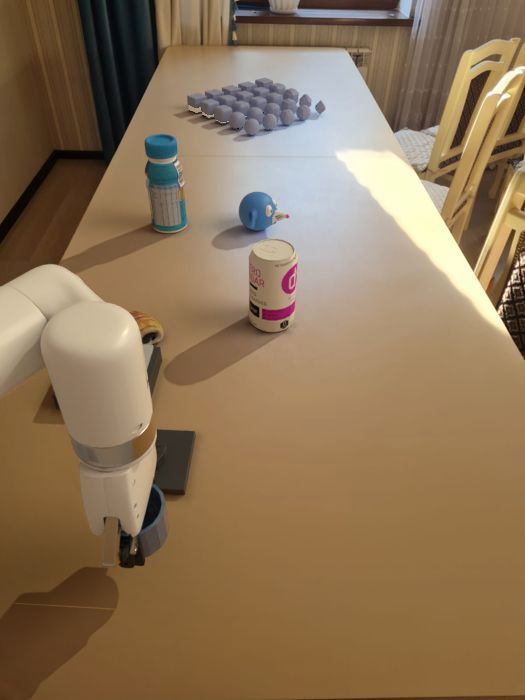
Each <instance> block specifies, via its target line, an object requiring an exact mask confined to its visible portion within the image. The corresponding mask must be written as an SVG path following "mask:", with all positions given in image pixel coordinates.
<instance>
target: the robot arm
mask: <svg viewBox="0 0 525 700" xmlns="http://www.w3.org/2000/svg"><path fill="white" fill-rule="evenodd" d="M129 312H130V311H128V310H127V309H125V308H123V307H122V306H120V305H118V304H115V303H111V302H106V301H105V300H103V299H102V297H100V296H99V295H97V294H96V293H95V292H94V291H93V290H92V289H91V288H90V287H89V286H88V285H87V284H86V283H85V282H84V281H83V279H81V278H80V277H79V275H77V274H76V273H74V272H72V271H70V270H69V269H68V268H65V267H64V266H61V265H58V264H54V263H47V264H42V265H39V266H36V267H34V268H32V269H30V270H28V271H26V272H24V273H22V274H21V275H19V276H17V277H15V278H14V279H11V280H10V281H8V282H7V283H5V284H3V285H1V286H0V400H1V399H3V398H4V397H5V396H7V395H9V394H11V393H12V392H13V391H14V390H16V389H18V387H21V385H23V384H24V383H26V382H27V381H29V380H31V378H32V377H34V376H36V375H37V374H38V373H39V372H41V371H43V370H44V369H45V368H46V371H47V373H48V378H49V380H50V383H51V386H52V390H53V392H55V395H56V398H57V401H58V404H59V407H60V409H59V410H60V414H61V417H62V419H63V422H64V424H65V428H66V431H67V434H68V436H69V440H70V443H71V446H72V449H73V452H74V454H75V456H76V459H78V461H79V468H78V472H79V474H78V475H79V476H78V477H79V486H80V494H81V499H82V505H83V509H84V513H85V517H86V520H87V523H88V527H89V530H90V532H91V533H92V535H93V536H96V537H102V536H103V546H102V558H101V566H102V567H103V568H104V567H105V568H106V567H107V568H117V567H118V566H119V567H120V568H123V569H133V568H135V567H144V566H145V564H146V558H145V557H144V552H143V548H142V544H141V543H140V542H138V541H137V534H138V533H139V532H140V530H141V527H142V523H143V520H144V516H145V512H146V508H147V503H148V499H149V495H150V491H151V487H152V483H153V484H155V485H156V486H157V483H156V480H153V479H154V477H155V469H156V461H157V454H156V446H155V442H156V438H157V430H156V429H157V426H156V420H155V414H154V407H153V399H152V398H151V394H150V388H149V382H148V376H147V370H146V364H145V357H144V351H143V345H142V339H141V334H140V330H139V327H138V324H137V322H136V321H135V319H134V317H133V316H132V315H131V314H130V313H129ZM104 530H105V532H104ZM121 533H127V534H129V540H127V539H120V534H121ZM103 534H104V535H103Z"/></svg>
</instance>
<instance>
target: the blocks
mask: <svg viewBox="0 0 525 700" xmlns="http://www.w3.org/2000/svg"><path fill="white" fill-rule="evenodd" d="M299 93H300V92H299V91H298V90H297V89H295V88H292V87H291V88H287V89H286V85H285V84H283V83H279V82H275V83H274V80H272V79H270V78H267V77H263V78H258V79H255V80H254V82H252V81H245V82H244V81H243V82H239V83H237V86H236V85H233V84H231V85H226V86H223V87H221V90H220V89H217V88H213V89H209V90H205V91H204V94H202V93H200V92H196V93H192V94H187V95H186V100H187V101H186V102H187V106H188V105H190V106H192V107H194V108H199V107H201V111H202V112H204V113H205V114H207V115H213V114H214V117H210V118H208V117H205V119H208V120H211V119H214V118H215V119H216V120H218V121H220V122H226V123H220V122H217V121H215V122H216V123H218V124H220V125H227V124H229V126H230V128H232V127H233V128H232V129H234V130H236V131H237V130H238V131H239V130H241V129H243V130H244V132H245V133H246V134H247V135H248V136H255V135H257V134H258V133H259V131H260V128H261V126H260V123H259V122H261V124H262V126H263V128H264V129H265V130H267V131H273V130H274V129H276V128H277V126H278V118H279V120H280V123H281V124H283V125H285V126H289V125H291V124H292V123H294V120H295V114H296V117H297V118H298V119H299V120H302V121H305V120H308V119H309V118H310V116H311V108H310V107H311V106H312V101H313V100H312V98H311V97H310V95H309V94H307V93H304V94H302V96H301V97H299ZM297 104H298V106H297ZM326 108H327V107H326V105H325V103H324V102H323V100H322V99H321V100H319V101H318V103H316V104H315V106H314V110H315V111H316V113H317V114H318V115H319V116H320V115H322V114H323V113H324V112H325V111H326V110H327V109H326ZM263 112H264V113H263ZM245 116H247V117H245ZM215 119H214V120H215ZM227 121H229V122H227ZM242 127H243V128H242ZM235 128H239V129H235ZM269 129H270V130H269ZM249 134H250V135H249Z"/></svg>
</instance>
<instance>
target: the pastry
mask: <svg viewBox="0 0 525 700" xmlns="http://www.w3.org/2000/svg"><path fill="white" fill-rule="evenodd" d="M128 312H129V313H130V314H131V315H132V316H133V317H134V319H135V321H136V322H137V324H138V327H139V330H140V334H141V339H142V344H143V345H154V344H158V343H159V342H161V341H162V340H163V338H164V336H165V330H164V328H163V327H162V325H161V323H160V322H159V321H157V320H156V318H154V317H153V316H150V315H148V314H145V313H144V312H142V311H138V310H133V311H128Z"/></svg>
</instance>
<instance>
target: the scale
mask: <svg viewBox="0 0 525 700" xmlns="http://www.w3.org/2000/svg"><path fill="white" fill-rule="evenodd" d="M142 345H143V344H142ZM143 351H144V357H145V364H146V370H147V376H148V382H149V388H150V394H151V399H152V398H153V394H154V391H155V388H156V387H155V386H156V384H157V379H158V376H159V373H160V369H161V366H162V362H163V356H162V349H161V346H154V344H152V345H143ZM51 398H52V400H53V404H54V405H55V406H54V407H55V408H56V409H57V410H60V407H59V404H58V401H57V398H56V395H55V392H54V391H53V392H52V394H51Z"/></svg>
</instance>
